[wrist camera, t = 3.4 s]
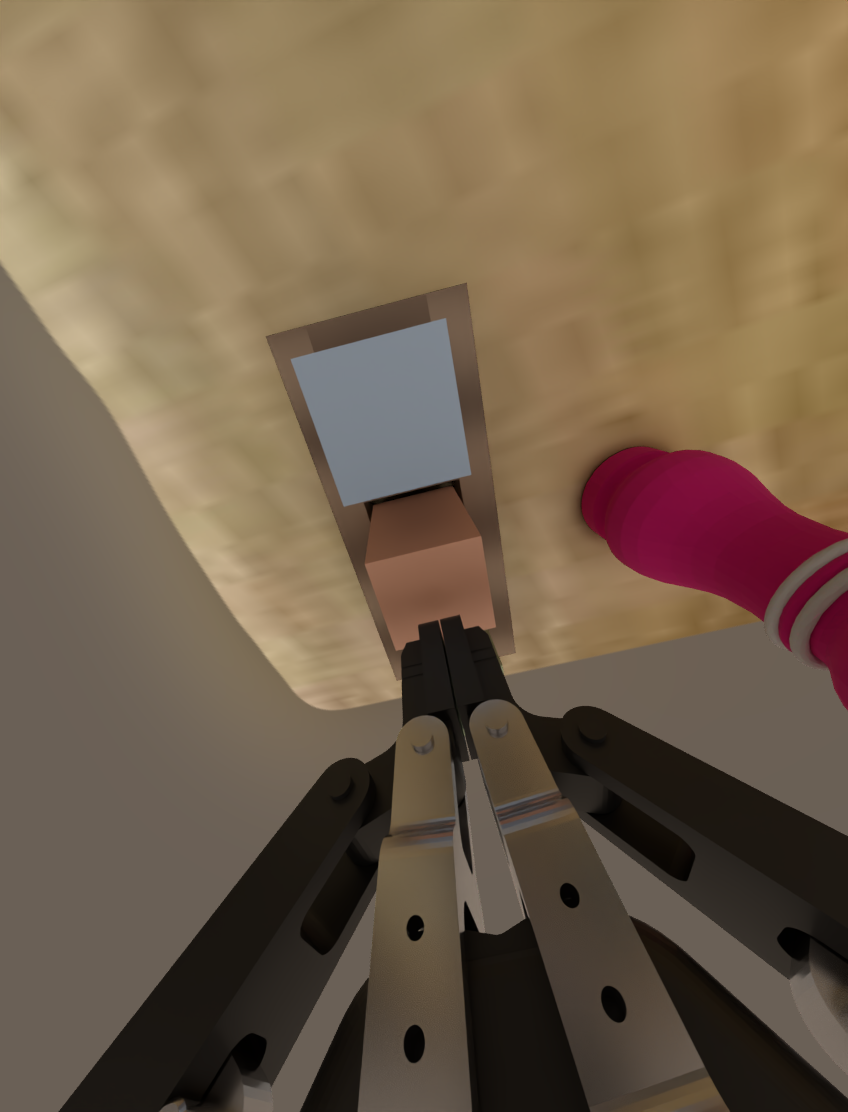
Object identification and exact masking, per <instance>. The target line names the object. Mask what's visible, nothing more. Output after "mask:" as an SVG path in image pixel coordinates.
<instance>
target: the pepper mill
mask: <svg viewBox="0 0 848 1112" xmlns="http://www.w3.org/2000/svg"><path fill="white" fill-rule="evenodd" d="M582 514H583V516H584V519H585V521H586V523H587V524H588V526H589V527H590V528H591V529H592V530H593V531H594V532H596V533H597V534H598V535H600V536H601V537H602V538H604V539H605V540H607V543H608V545H609V547H610V550H611V552H612V553H613V554H614V555H615V557H616V558H617V559H618V560H620V561H621V562H622V563H623V564H625V565H626V566H628V567H629V568H631V569H633V570H634V571H636V572H638V573H639V574H641V575H644V576H647V577H649V578H652V579H655V580H658V581H661V582H664V583H669V584H674V585H678V586H683V587H688V588H693V589H698V590H702V591H706V592H710V593H713V594H716V595H718V596H721V597H724V598H726V599H728V600H730V601H732V602H733V603H735V604H737V605H739V606H741V607H743V608H744V609H746V610H748V611H750V612H752V613H753V614H754V615H755V616H757V617H758V618H759V619H761V620H762V621H763V622H764V628H765V632H766V634H767V636H768V638H769V639H770V640H771V641H772V642H773V643H774V644H775V645H777V646H778V647H780V648H782V649H785V650H788V651H791V652H792V653H793V655H794V656H795V657H796V658H797V659H798V660H799V661H800V662H801V663H803V664H804V665H806V666H809V667H812V668H814V669H820V670H829V671H830V674H831V678H832V681H833V685H834V689H835V691H836V693H837V694H838V696H839V698H840V700H841V702H842V703H843V705H844V707H845V708H846V709H847V710H848V533H847V532H843V531H839V530H835V529H832V528H830V527H828V526H825V525H823V524H820V523H818V522H816V521H813V520H811V519H808V518H806V517H804V516H801V515H799V514H797V513H796V512H794V511H793V510H791V509H789V508H788V507H786V506H785V505H783V504H782V503H781V502H780V501H779V500H778V499H777V498H776V497H775V496H774V495H772V494H771V493H770V491H769V490H768V489H767V488H766V487H765V486H764V485H763V484H762V483H761V482H760V481H759V480H758V479H757V478H756V476H754V475H753V474H752V473H751V472H750V471H748V470H747V469H745V468H744V467H742V466H741V465H739V464H738V463H736V462H734V461H732V460H730V459H728V458H725V457H722V456H719V455H716V454H713V453H711V452H706V451H701V450H682V451H675V452H672V453H668V452H665V451H661V450H658V449H654V448H650V447H633V448H629V449H626V450H623V451H620V452H618V453H617V454H615V455H613V456H611V457H610V458H608V459H607V460H606V461H605V462H603V463H602V464H601V465H600V466H599V467H598V468H597V469H596V470H595V471H594V473H593V475H592V476H591V478H590V479H589V481H588V482H587V484H586V486H585V489H584V492H583V496H582Z"/></svg>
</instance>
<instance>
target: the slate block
mask: <svg viewBox="0 0 848 1112" xmlns="http://www.w3.org/2000/svg"><path fill="white" fill-rule="evenodd" d="M291 362H292V365H293V367H294V370H295V373H296V376H297V378H298V381H299V384H300V387H301V389H302V392H303V395H304V398H305V401H306V403H307V406H308V409H309V412H310V414H311V417H312V420H313V423H314V426H315V428H316V431H317V434H318V437H319V439H320V442H321V445H322V448H323V450H324V453H325V456H326V459H327V462H328V464H329V467H330V470H331V473H332V475H333V478H334V481H335V484H336V486H337V489H338V492H339V495H340V498H341V500H342V503H343V506H348V505H352V504H356V503H360V502H364V501H368V500H372V499H376V498H380V497H384V496H388V495H392V494H396V493H400V492H404V491H408V490H412V489H416V488H420V487H424V486H428V485H432V484H436V483H440V482H444V481H448V480H452V479H456V478H461V477H465V476H469V475H471V470H470V463H469V457H468V451H467V445H466V439H465V433H464V426H463V420H462V414H461V408H460V402H459V396H458V389H457V383H456V377H455V371H454V365H453V359H452V353H451V346H450V340H449V334H448V328H447V322H446V318H444V319H440V320H436V321H433V322H429V323H425V324H421V325H417V326H414V327H410V328H406V329H402V330H398V331H395V332H391V333H387V334H383V335H380V336H376V337H372V338H368V339H364V340H361V341H357V342H353V343H349V344H346V345H342V346H338V347H334V348H330V349H327V350H323V351H319V352H315V353H312V354H308V355H304V356H300V357H296V358H293V359H291Z"/></svg>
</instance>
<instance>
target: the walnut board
mask: <svg viewBox="0 0 848 1112" xmlns="http://www.w3.org/2000/svg"><path fill="white" fill-rule="evenodd" d="M444 318H446V322H447V328H448V334H449V340H450V346H451V353H452V359H453V365H454V371H455V377H456V383H457V389H458V396H459V402H460V408H461V414H462V420H463V426H464V433H465V439H466V445H467V451H468V457H469V463H470V470H471V475H469V476H465V477H461V478H456V479H452V480H448V481H444V482H440V483H436V484H432V485H428V486H424V487H420V488H416V489H412V490H408V491H404V492H400V493H396V494H392V495H388V496H384V497H380V498H376V499H372V500H368V501H364V502H360V503H356V504H352V505H348V506H343V503H342V500H341V498H340V495H339V492H338V489H337V486H336V484H335V481H334V478H333V475H332V473H331V470H330V467H329V464H328V462H327V459H326V456H325V453H324V450H323V448H322V445H321V442H320V439H319V437H318V434H317V431H316V428H315V426H314V423H313V420H312V417H311V414H310V412H309V409H308V406H307V403H306V401H305V398H304V395H303V392H302V389H301V387H300V384H299V381H298V378H297V376H296V373H295V370H294V367H293V365H292V362H291V359H293V358H296V357H300V356H304V355H308V354H312V353H315V352H319V351H323V350H327V349H330V348H334V347H338V346H342V345H346V344H349V343H353V342H357V341H361V340H364V339H368V338H372V337H376V336H380V335H383V334H387V333H391V332H395V331H398V330H402V329H406V328H410V327H414V326H417V325H421V324H425V323H429V322H433V321H436V320H440V319H444ZM266 338H267V341H268V344H269V346H270V349H271V351H272V354H273V357H274V359H275V362H276V365H277V367H278V370H279V372H280V375H281V378H282V380H283V383H284V386H285V388H286V391H287V393H288V396H289V399H290V401H291V404H292V407H293V409H294V412H295V414H296V417H297V420H298V422H299V425H300V428H301V430H302V433H303V435H304V438H305V441H306V443H307V446H308V449H309V451H310V454H311V456H312V459H313V462H314V464H315V467H316V470H317V472H318V475H319V477H320V480H321V483H322V485H323V488H324V491H325V493H326V496H327V499H328V501H329V504H330V506H331V509H332V512H333V514H334V517H335V520H336V522H337V525H338V527H339V530H340V533H341V535H342V538H343V541H344V543H345V546H346V548H347V551H348V554H349V556H350V559H351V562H352V564H353V567H354V569H355V572H356V575H357V577H358V580H359V583H360V585H361V588H362V590H363V593H364V596H365V598H366V601H367V604H368V606H369V609H370V611H371V614H372V617H373V619H374V622H375V625H376V627H377V630H378V632H379V635H380V638H381V640H382V643H383V646H384V648H385V651H386V654H387V656H388V659H389V661H390V664H391V667H392V669H393V672H394V675H395V677H396V680H402V676H401V670H402V669H401V654H402V651H403V649H402V650H398V651H396V650H395V647H394V644H393V642H392V639H391V636H390V633H389V631H388V628H387V625H386V622H385V619H384V617H383V614H382V611H381V608H380V606H379V603H378V600H377V597H376V595H375V592H374V589H373V586H372V583H371V581H370V578H369V575H368V572H367V570H366V567H365V558H366V551H367V544H368V538H369V531H370V524H371V517H372V511H373V504H372V501H374V500H378V499H382V498H386V497H390V496H394V495H398V494H402V493H406V492H410V491H414V490H418V489H422V488H426V487H430V486H434V485H438V484H442V483H446V482H450V481H454V486H455V491H456V493H457V495H458V496H459V498H460V500H461V502H462V503H463V505H464V507H465V509H466V510H467V512H468V514H469V515H470V517H471V519H472V521H473V522H474V524H475V526H476V528H477V529H478V531H479V533H480V535H481V537H482V544H483V550H484V556H485V562H486V568H487V574H488V581H489V587H490V593H491V599H492V605H493V611H494V617H495V624H496V627H495V628H491V629H488V630H489V633H490V635H491V638H492V640H493V643H494V645H495V648H496V651H497V653H498V656H499V657H500V656H505V655H509V654H513V653H516V651H515V644H514V636H513V629H512V621H511V614H510V606H509V599H508V591H507V584H506V576H505V568H504V561H503V553H502V546H501V538H500V531H499V523H498V516H497V508H496V501H495V493H494V486H493V478H492V470H491V463H490V455H489V448H488V440H487V433H486V425H485V418H484V410H483V403H482V395H481V388H480V380H479V372H478V365H477V357H476V350H475V342H474V335H473V327H472V320H471V312H470V305H469V297H468V290H467V283H464V284H460V285H456V286H453V287H449V288H445V289H441V290H438V291H434V292H430V293H426V294H423V295H419V296H415V297H411V298H408V299H404V300H400V301H396V302H393V303H389V304H385V305H381V306H378V307H374V308H370V309H366V310H363V311H359V312H355V313H352V314H348V315H344V316H340V317H337V318H333V319H329V320H325V321H322V322H318V323H314V324H310V325H307V326H303V327H299V328H295V329H292V330H288V331H284V332H280V333H277V334H273V335H269V336H266Z"/></svg>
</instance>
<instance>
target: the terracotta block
mask: <svg viewBox="0 0 848 1112" xmlns="http://www.w3.org/2000/svg"><path fill="white" fill-rule="evenodd" d="M365 567H366V570H367V572H368V575H369V578H370V581H371V583H372V586H373V589H374V592H375V595H376V597H377V600H378V603H379V606H380V608H381V611H382V614H383V617H384V619H385V622H386V625H387V628H388V631H389V633H390V636H391V639H392V642H393V644H394V647H395V650H396V651H398V650H402V649H404V647H405V645H406V643H407V642H412V641H416V640H419V631H418V624H422V623H427V622H431V621H435V620H438V621H439V624H440V628H441V623H440V619H443V618H447V617H452V616H456V615H460V617H461V620H462V624H463V627H464V629H466V628H471V627H475V626H479V627H481V628H482V629H483V630H487V629H491V628H495V627H496V624H495V617H494V611H493V605H492V599H491V593H490V587H489V581H488V574H487V568H486V562H485V556H484V550H483V544H482V537H481V535H480V533H479V531H478V529H477V528H476V526H475V524H474V522H473V521H472V519H471V517H470V515H469V514H468V512H467V510H466V509H465V507H464V505H463V503H462V502H461V500H460V498H459V496H458V495H457V493H456V491H455V490H454V488H453V486H448V487H444V488H440V489H436V490H432V491H428V492H424V493H420V494H416V495H412V496H408V497H404V498H400V499H395V500H391V501H387V502H383V503H379V504H375V505H373V511H372V517H371V524H370V531H369V538H368V544H367V551H366V558H365ZM441 632H442V628H441ZM442 636H443V633H442ZM443 640H444V638H443Z"/></svg>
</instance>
